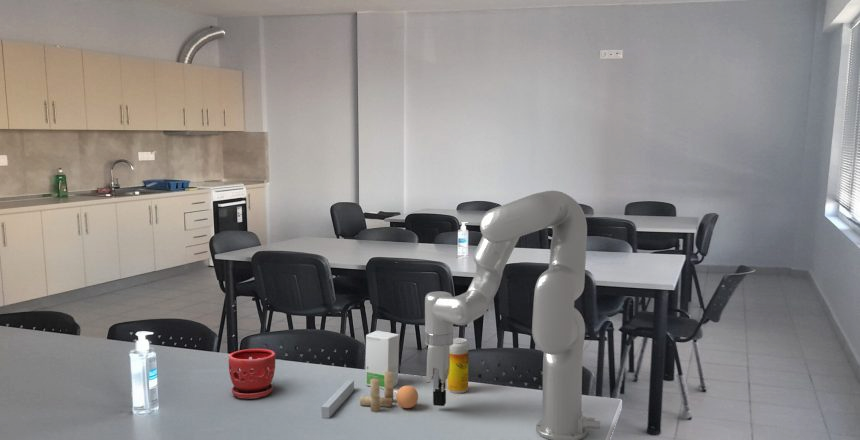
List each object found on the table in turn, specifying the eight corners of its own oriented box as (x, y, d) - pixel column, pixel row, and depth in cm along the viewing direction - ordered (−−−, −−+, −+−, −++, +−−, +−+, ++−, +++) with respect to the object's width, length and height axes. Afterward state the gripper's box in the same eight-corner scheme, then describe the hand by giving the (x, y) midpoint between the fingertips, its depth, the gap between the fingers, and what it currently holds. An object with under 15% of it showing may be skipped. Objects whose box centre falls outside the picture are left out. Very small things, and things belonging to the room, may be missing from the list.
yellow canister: (466, 394, 200) (466, 343, 198) (445, 393, 201) (445, 342, 199) (469, 387, 205) (469, 338, 204) (449, 386, 207) (449, 337, 205)
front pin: (392, 397, 192) (362, 396, 193) (390, 398, 190) (360, 397, 191) (392, 406, 192) (362, 404, 193) (390, 407, 189) (359, 405, 191)
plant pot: (277, 398, 197) (276, 357, 196) (229, 403, 194) (228, 361, 192) (274, 384, 210) (273, 345, 209) (229, 388, 206) (228, 349, 205)
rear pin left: (380, 409, 189) (380, 378, 188) (378, 412, 186) (378, 381, 186) (372, 408, 189) (371, 378, 188) (369, 411, 187) (369, 381, 186)
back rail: (354, 390, 204) (354, 380, 204) (328, 418, 183) (328, 407, 182) (347, 389, 204) (347, 379, 204) (321, 417, 183) (321, 406, 183)
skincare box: (364, 386, 208) (364, 334, 206) (376, 379, 213) (375, 329, 212) (388, 390, 204) (388, 338, 202) (400, 383, 209) (399, 333, 208)
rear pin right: (394, 400, 195) (393, 371, 194) (392, 403, 193) (391, 373, 192) (385, 399, 196) (385, 370, 195) (383, 403, 193) (383, 373, 192)
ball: (395, 388, 193) (405, 407, 193) (389, 395, 187) (400, 415, 187) (413, 379, 192) (424, 398, 192) (408, 386, 186) (419, 406, 186)
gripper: (430, 330, 194) (431, 394, 196) (419, 345, 179) (420, 414, 181) (457, 331, 193) (457, 396, 194) (448, 346, 178) (448, 416, 180)
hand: (439, 404), depth 188 cm, fingers closed
